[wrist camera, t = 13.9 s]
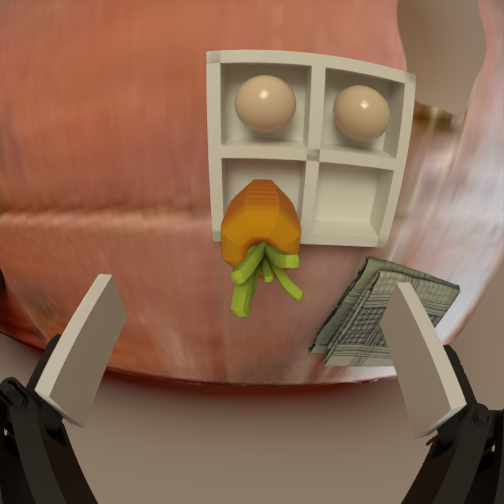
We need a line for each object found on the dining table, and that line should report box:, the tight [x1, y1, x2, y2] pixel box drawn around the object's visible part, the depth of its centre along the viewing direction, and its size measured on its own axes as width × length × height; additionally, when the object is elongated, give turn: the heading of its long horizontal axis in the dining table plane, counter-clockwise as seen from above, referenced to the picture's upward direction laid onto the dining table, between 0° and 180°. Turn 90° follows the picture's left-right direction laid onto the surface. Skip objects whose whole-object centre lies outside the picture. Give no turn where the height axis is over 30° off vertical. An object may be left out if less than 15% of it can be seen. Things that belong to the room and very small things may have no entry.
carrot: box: [221, 179, 304, 318], centre depth 18 cm, size 5×5×15 cm
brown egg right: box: [333, 85, 390, 141], centre depth 18 cm, size 5×5×5 cm
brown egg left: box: [234, 75, 296, 133], centre depth 19 cm, size 5×5×5 cm
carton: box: [207, 50, 416, 247], centre depth 22 cm, size 16×16×4 cm
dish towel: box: [308, 257, 461, 367], centre depth 34 cm, size 19×18×3 cm
